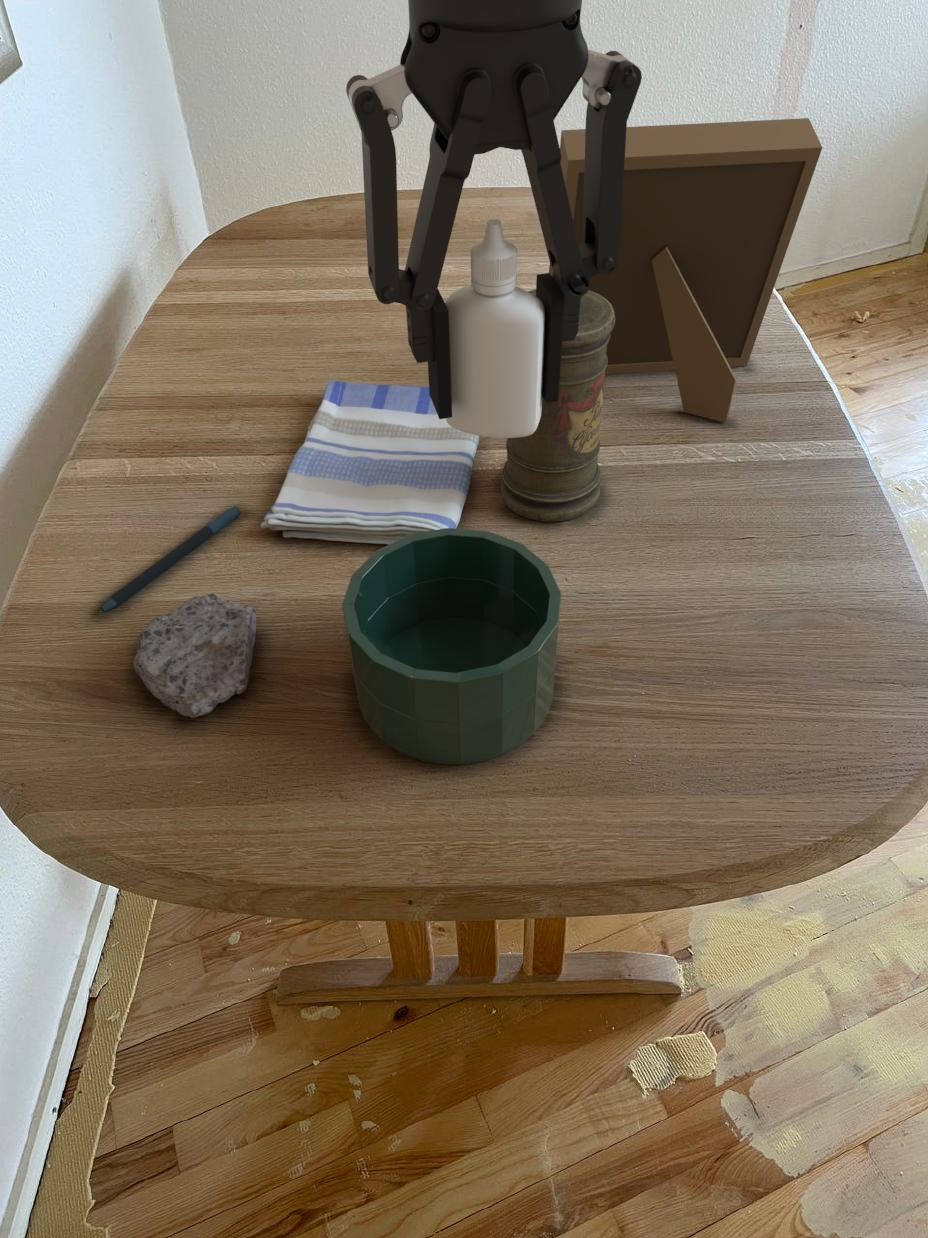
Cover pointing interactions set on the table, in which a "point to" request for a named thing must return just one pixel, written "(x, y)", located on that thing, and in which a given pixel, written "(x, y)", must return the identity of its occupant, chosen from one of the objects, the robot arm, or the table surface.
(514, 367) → the eye dropper bottle
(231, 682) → the rock
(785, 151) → the photo frame
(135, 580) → the pen
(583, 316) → the container
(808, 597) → the table surface
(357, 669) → the pot
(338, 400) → the dish towel
